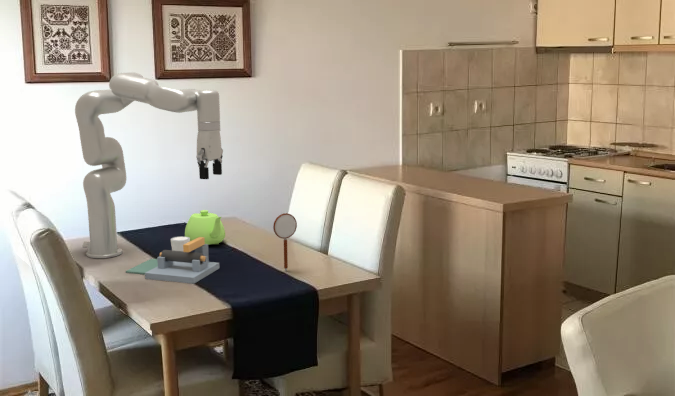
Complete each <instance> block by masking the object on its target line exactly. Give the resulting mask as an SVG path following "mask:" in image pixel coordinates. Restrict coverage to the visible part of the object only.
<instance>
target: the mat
mask: <svg viewBox="0 0 675 396" xmlns="http://www.w3.org/2000/svg"><path fill="white" fill-rule="evenodd" d="M157 266H158V262H157V258H150V259H148V260H146V261H144V262H141V263H139V264H138V265H135V266H133V267H131V268H129V269H127V270H125V273H127V274H135V275H144V276H145V273H146V272H147V271H149V270H151V269H153V268H155V267H157Z"/></svg>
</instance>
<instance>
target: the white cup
mask: <svg viewBox="0 0 675 396" xmlns="http://www.w3.org/2000/svg"><path fill="white" fill-rule="evenodd" d="M188 242H190V238H189V237H185V236H173V237H171V238H170V245H171V250H172V251H183V245H184V244H186V243H188Z"/></svg>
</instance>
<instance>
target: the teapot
mask: <svg viewBox="0 0 675 396" xmlns="http://www.w3.org/2000/svg"><path fill="white" fill-rule="evenodd" d="M199 212H200V213H199ZM199 212H198V213H196V212H195V213H192V214H191V215H190V217H189V219H188V221H187V223H186V225H185V229H184V237H189V238H190V241H192V240H194V239H196V238H198V237H204V238H205V244H208V246H210V245H220V244H219V243H222V242H223V240H224V239H225V238H226V230H225V227H224V224H223V222H222V220H221V219H222V216H218V214H216V213H213V212H209V210H208V209H202V210H199Z"/></svg>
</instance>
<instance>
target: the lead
mask: <svg viewBox="0 0 675 396" xmlns="http://www.w3.org/2000/svg"><path fill="white" fill-rule="evenodd" d="M158 257H165V261H175V262H186V263H192V260H200V264H202V262H203V261H205V260H206V257H205V256H203V253H195V251H194V252H193V251H191V252H183V251H172V249H170V250H169V249H163V250H162V251H161V252H159V256H158Z"/></svg>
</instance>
